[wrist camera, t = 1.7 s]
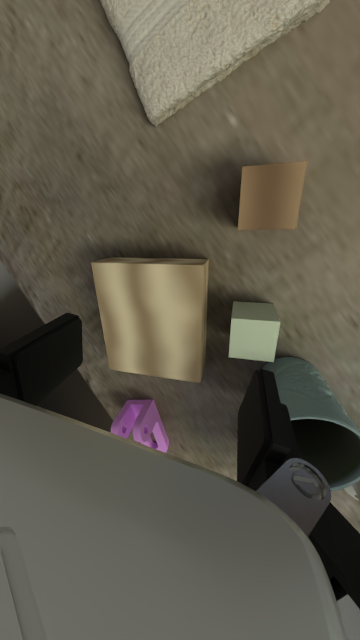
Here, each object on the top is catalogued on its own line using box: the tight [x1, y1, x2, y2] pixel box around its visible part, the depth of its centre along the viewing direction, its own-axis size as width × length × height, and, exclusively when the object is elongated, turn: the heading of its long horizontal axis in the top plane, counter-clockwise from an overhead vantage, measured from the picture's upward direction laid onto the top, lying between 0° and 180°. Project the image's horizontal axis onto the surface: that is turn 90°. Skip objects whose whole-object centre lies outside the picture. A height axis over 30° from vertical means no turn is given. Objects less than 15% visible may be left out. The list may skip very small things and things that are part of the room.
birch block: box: [91, 257, 209, 383], centre depth 31 cm, size 14×16×5 cm
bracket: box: [111, 399, 169, 453], centre depth 41 cm, size 13×6×7 cm, turn 16°
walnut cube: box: [238, 161, 307, 230], centre depth 22 cm, size 5×5×6 cm
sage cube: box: [229, 301, 280, 362], centre depth 27 cm, size 5×5×6 cm
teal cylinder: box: [262, 357, 360, 491], centre depth 27 cm, size 10×10×12 cm
